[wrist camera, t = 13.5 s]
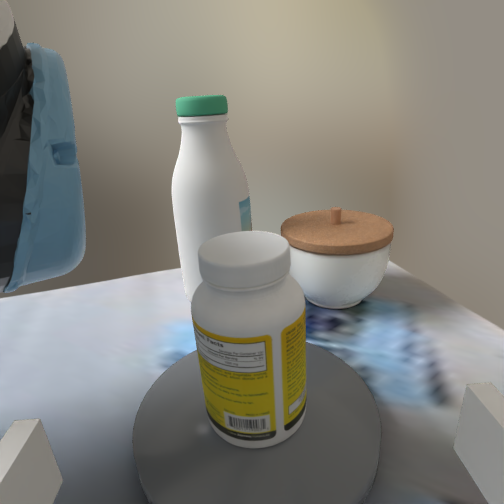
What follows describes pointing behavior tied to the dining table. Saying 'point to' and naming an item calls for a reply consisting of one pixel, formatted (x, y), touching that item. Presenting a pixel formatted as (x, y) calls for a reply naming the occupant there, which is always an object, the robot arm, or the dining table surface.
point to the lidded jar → (337, 254)
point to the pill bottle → (250, 338)
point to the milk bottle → (206, 183)
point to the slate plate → (259, 459)
